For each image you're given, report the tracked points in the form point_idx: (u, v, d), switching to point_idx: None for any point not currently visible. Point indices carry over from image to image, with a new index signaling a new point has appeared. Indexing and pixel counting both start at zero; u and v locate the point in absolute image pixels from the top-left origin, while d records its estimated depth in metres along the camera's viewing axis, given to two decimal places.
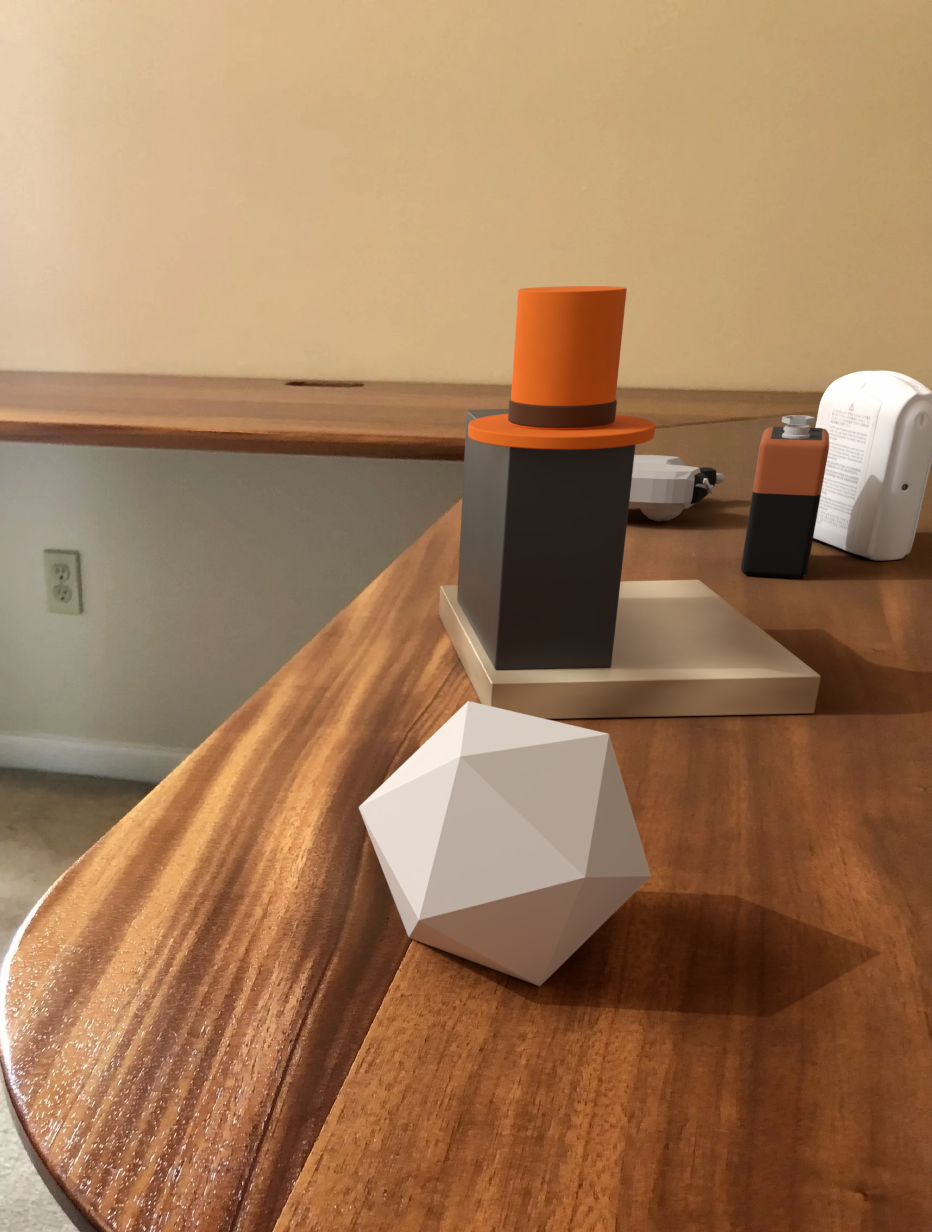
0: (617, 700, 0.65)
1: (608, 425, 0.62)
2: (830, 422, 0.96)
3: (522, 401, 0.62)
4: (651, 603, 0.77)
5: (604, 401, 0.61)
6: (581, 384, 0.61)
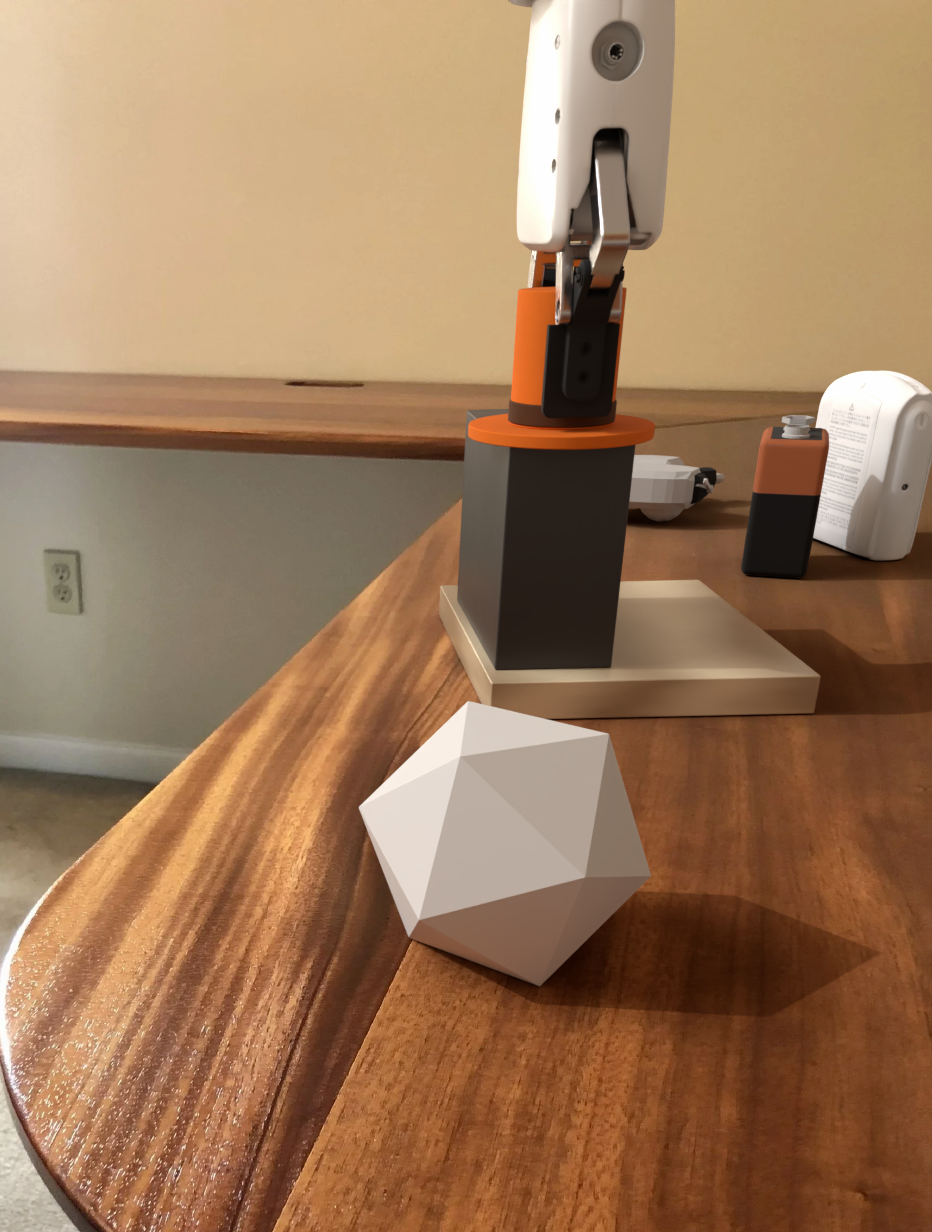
0: (617, 700, 0.65)
1: (608, 425, 0.62)
2: (830, 422, 0.96)
3: (522, 401, 0.62)
4: (651, 603, 0.77)
5: None
6: None
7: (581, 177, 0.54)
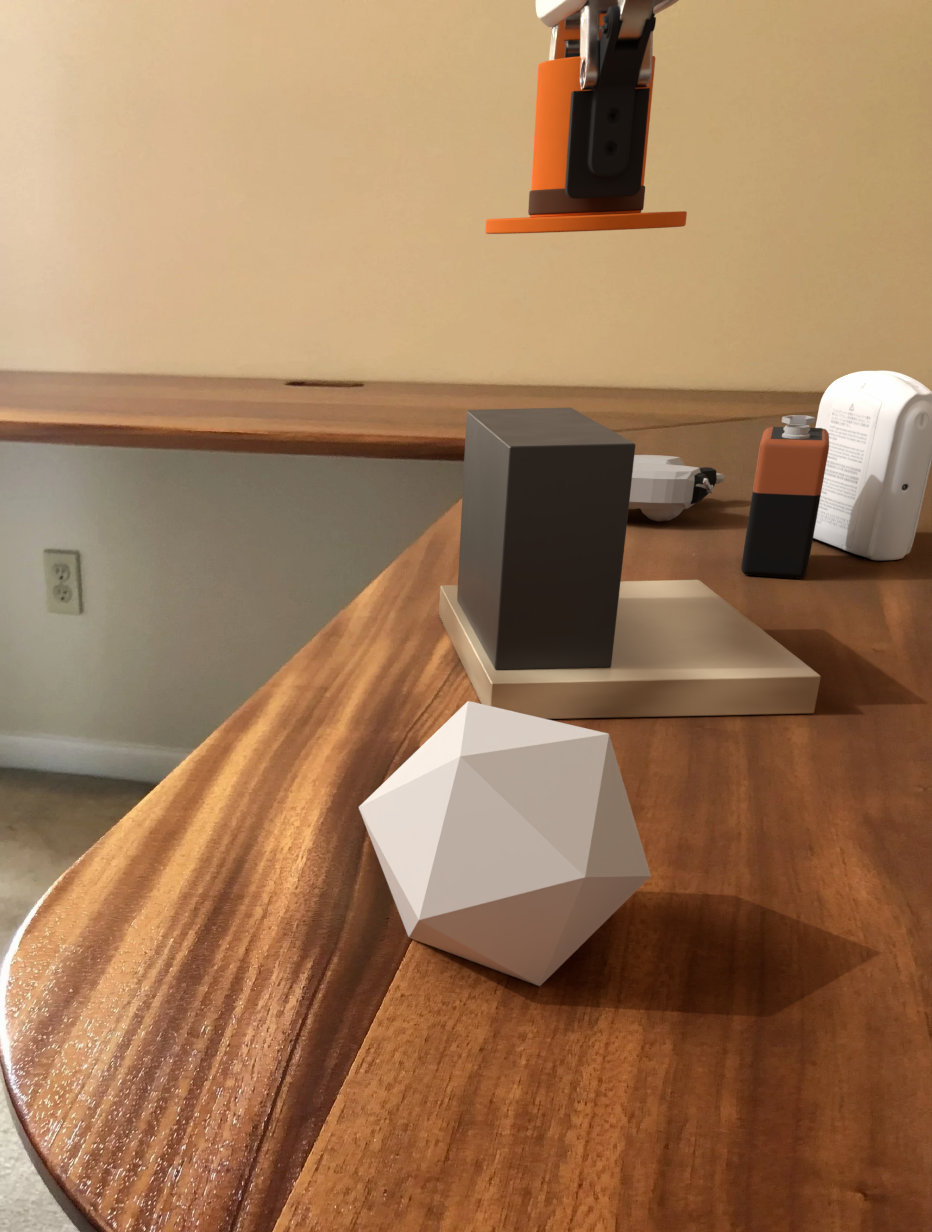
0: (617, 700, 0.65)
1: (636, 212, 0.58)
2: (830, 422, 0.96)
3: (544, 187, 0.58)
4: (651, 603, 0.77)
5: None
6: None
7: None
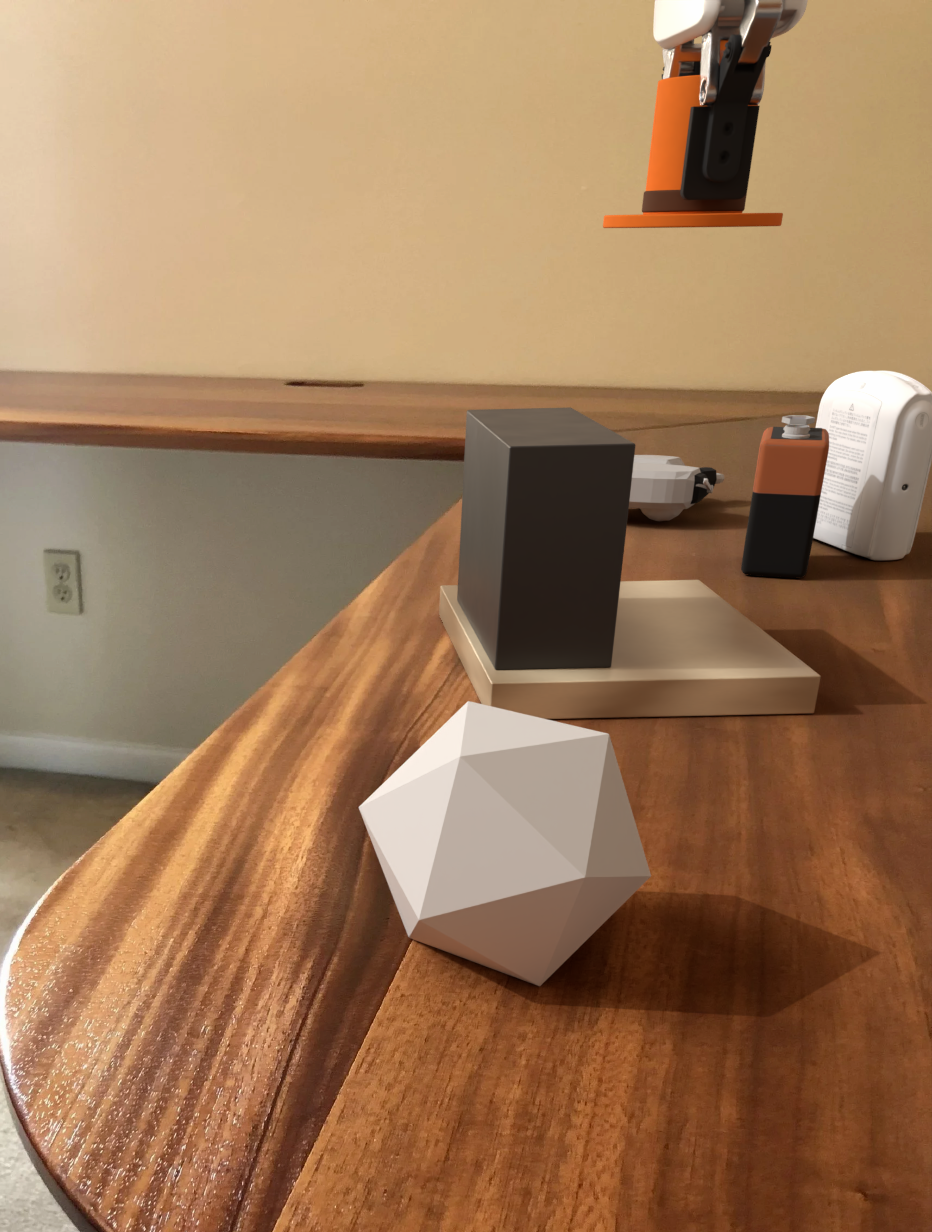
0: (617, 700, 0.65)
1: (739, 212, 0.66)
2: (830, 422, 0.96)
3: (659, 188, 0.66)
4: (651, 603, 0.77)
5: None
6: None
7: None
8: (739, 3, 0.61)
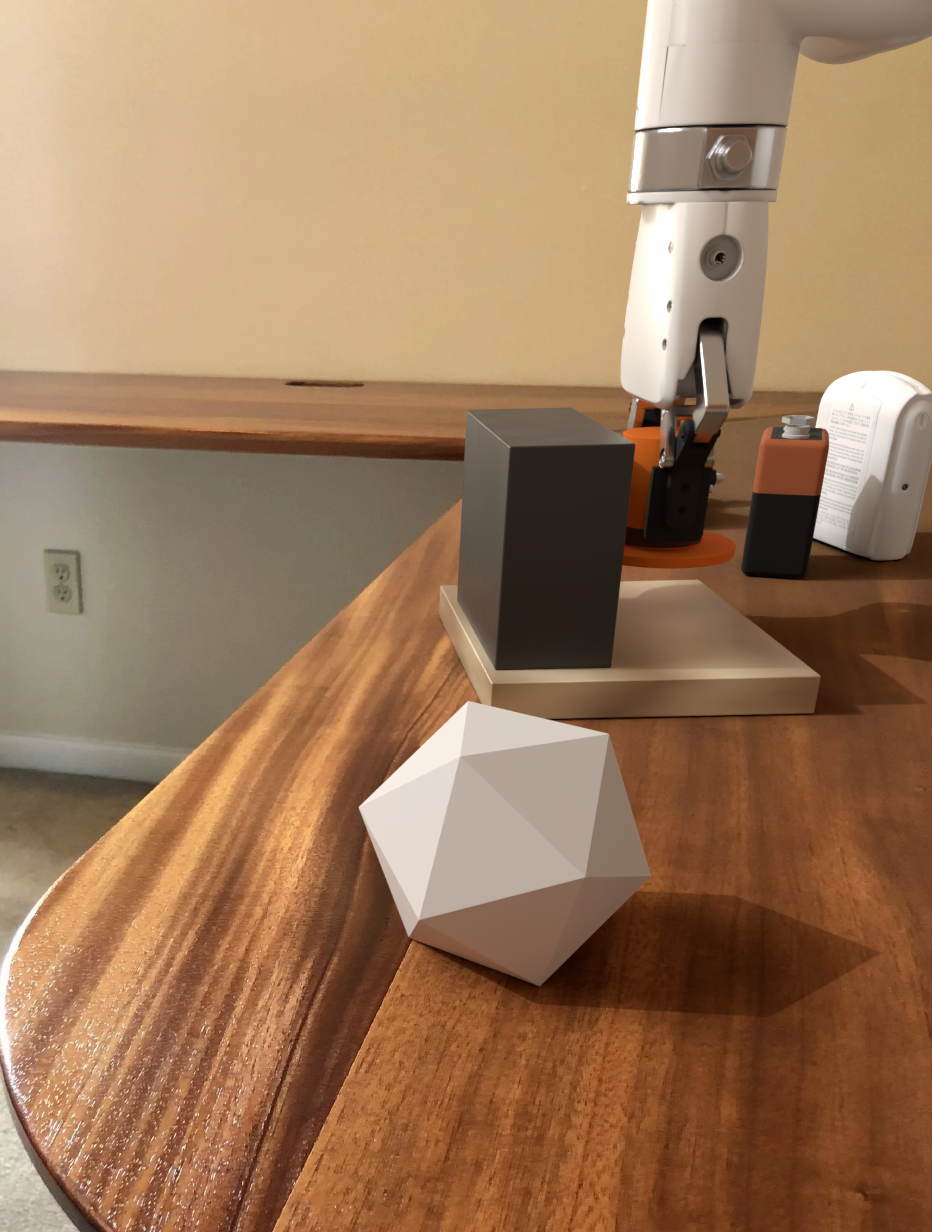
0: (617, 700, 0.65)
1: (696, 545, 0.74)
2: (830, 422, 0.96)
3: None
4: (651, 603, 0.77)
5: None
6: None
7: (688, 355, 0.66)
8: (693, 386, 0.69)
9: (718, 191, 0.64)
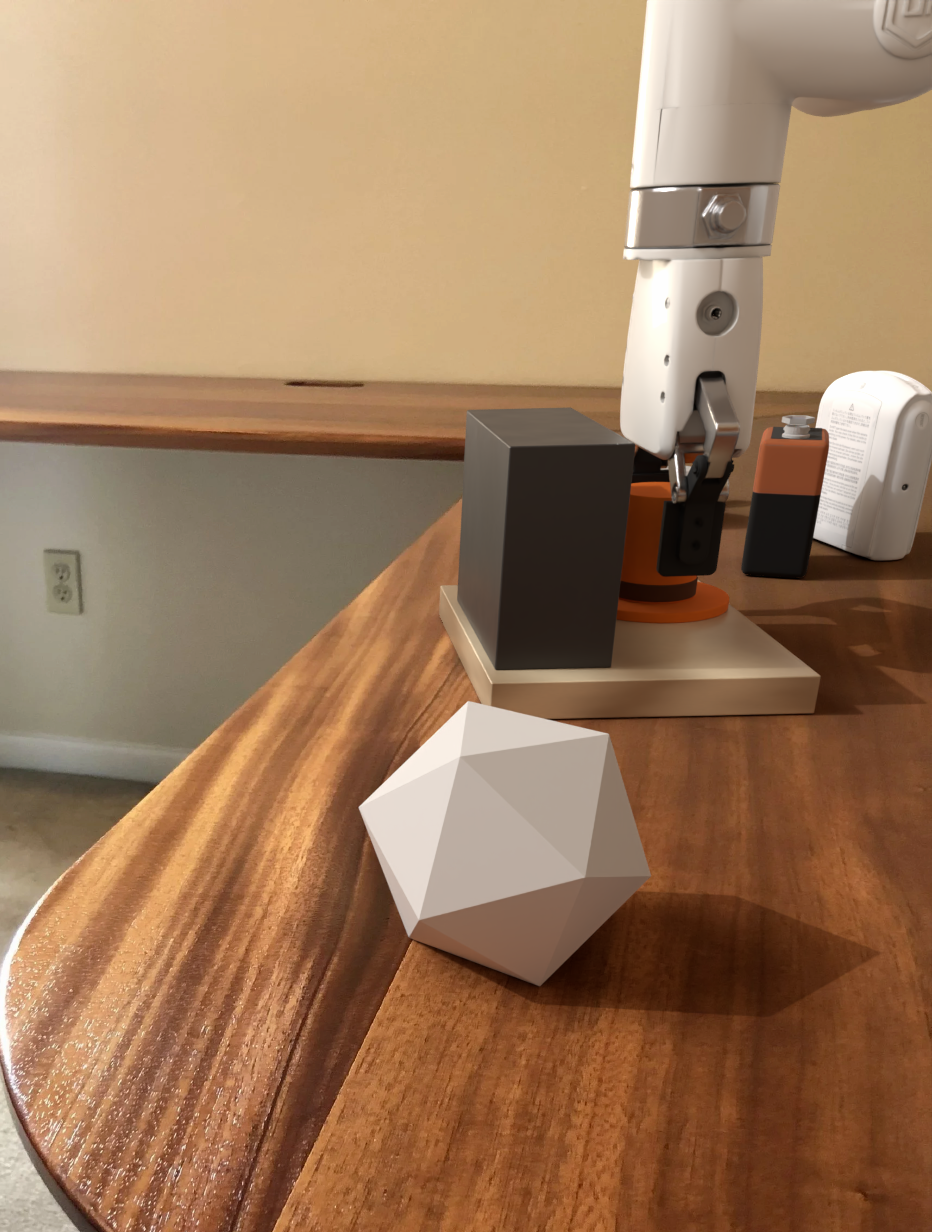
0: (617, 700, 0.65)
1: (691, 598, 0.76)
2: (830, 422, 0.96)
3: None
4: None
5: (688, 580, 0.75)
6: None
7: (686, 408, 0.68)
8: (691, 436, 0.70)
9: (713, 248, 0.65)
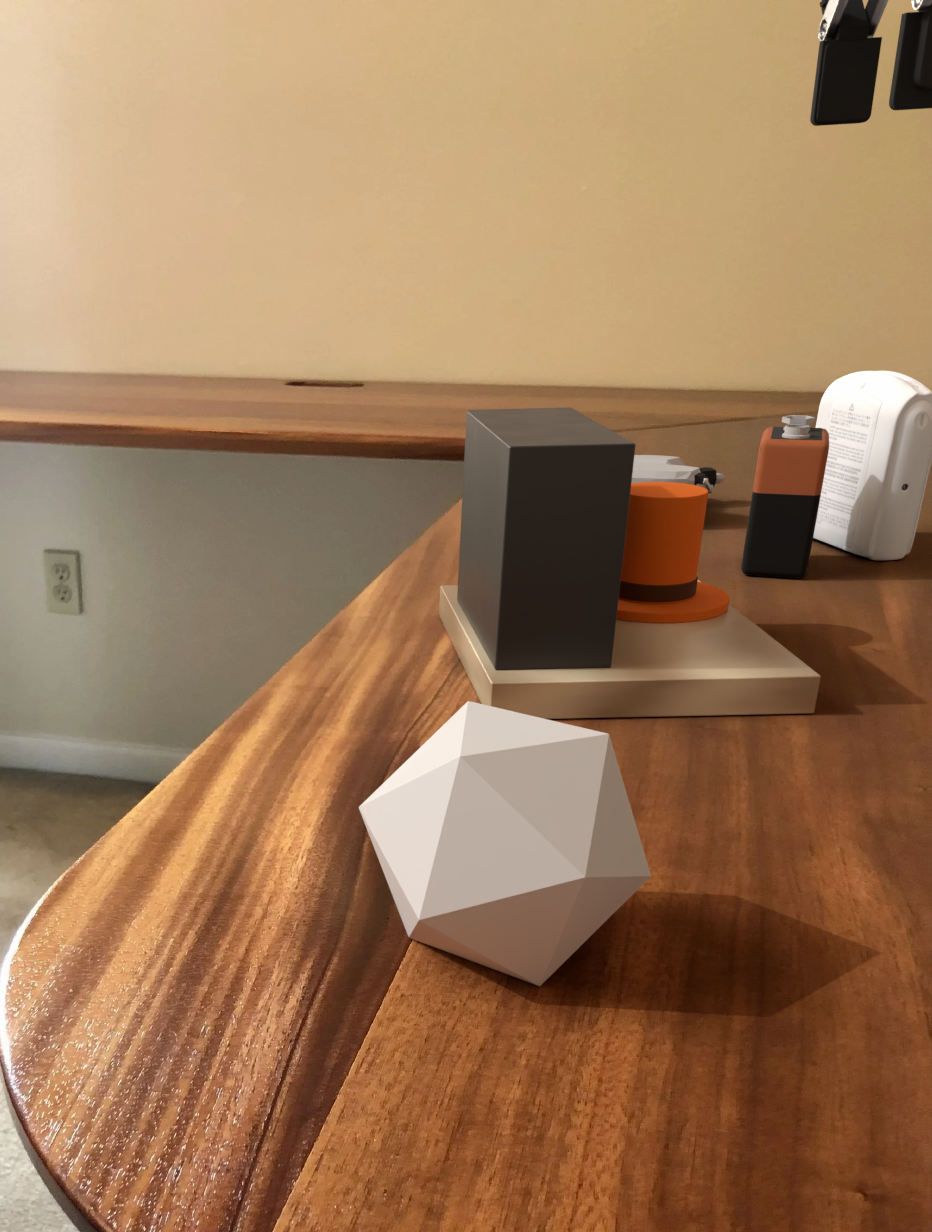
0: (617, 700, 0.65)
1: (691, 598, 0.76)
2: (830, 422, 0.96)
3: None
4: None
5: (688, 580, 0.75)
6: (671, 568, 0.74)
7: None
8: None
9: None
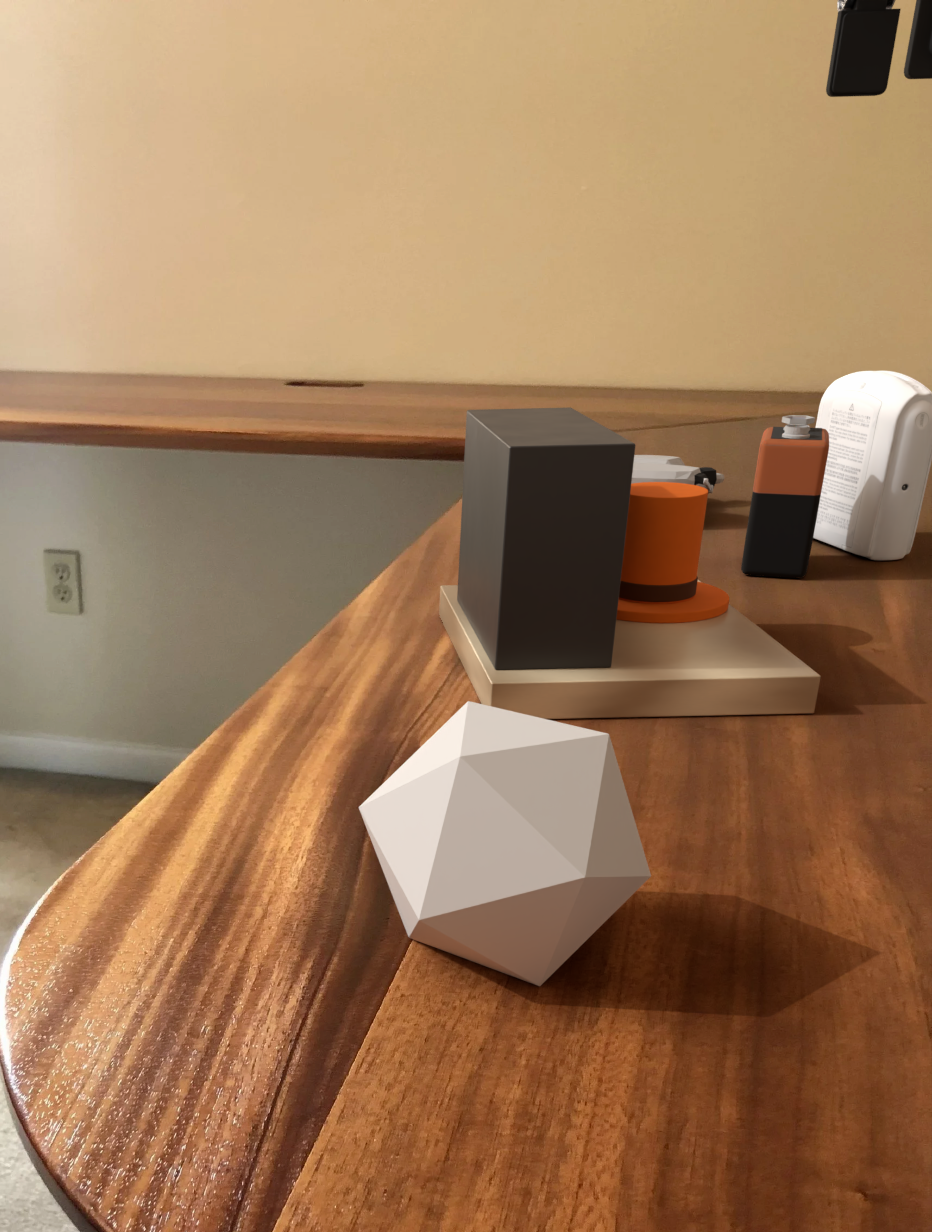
0: (617, 700, 0.65)
1: (691, 598, 0.76)
2: (830, 422, 0.96)
3: None
4: None
5: (688, 580, 0.75)
6: (671, 568, 0.74)
7: None
8: None
9: None
